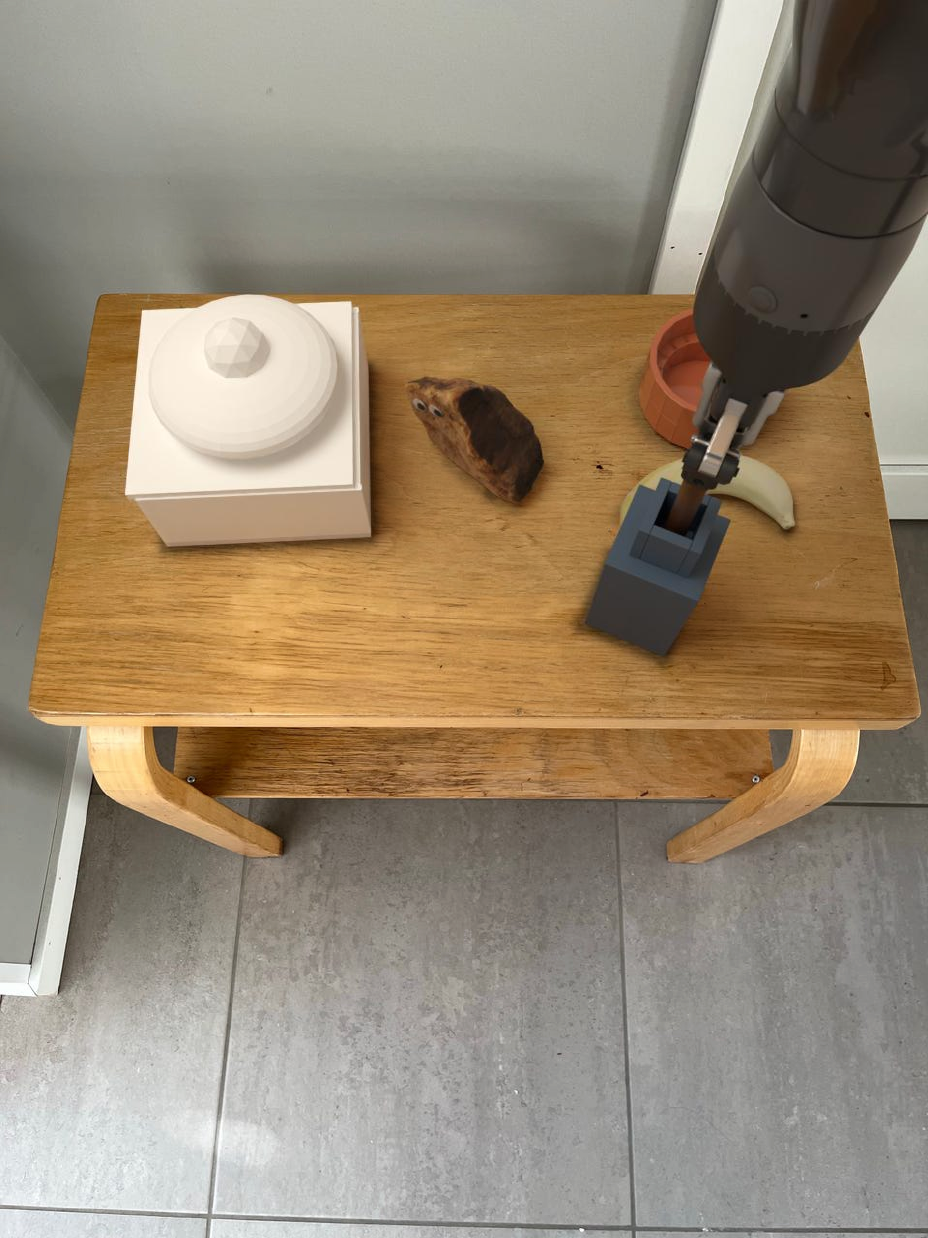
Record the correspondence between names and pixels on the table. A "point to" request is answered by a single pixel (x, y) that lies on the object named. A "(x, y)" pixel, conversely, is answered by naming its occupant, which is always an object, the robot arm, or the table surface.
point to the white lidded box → (251, 422)
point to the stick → (684, 508)
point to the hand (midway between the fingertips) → (704, 464)
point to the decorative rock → (479, 433)
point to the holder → (656, 570)
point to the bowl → (674, 379)
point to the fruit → (734, 488)
